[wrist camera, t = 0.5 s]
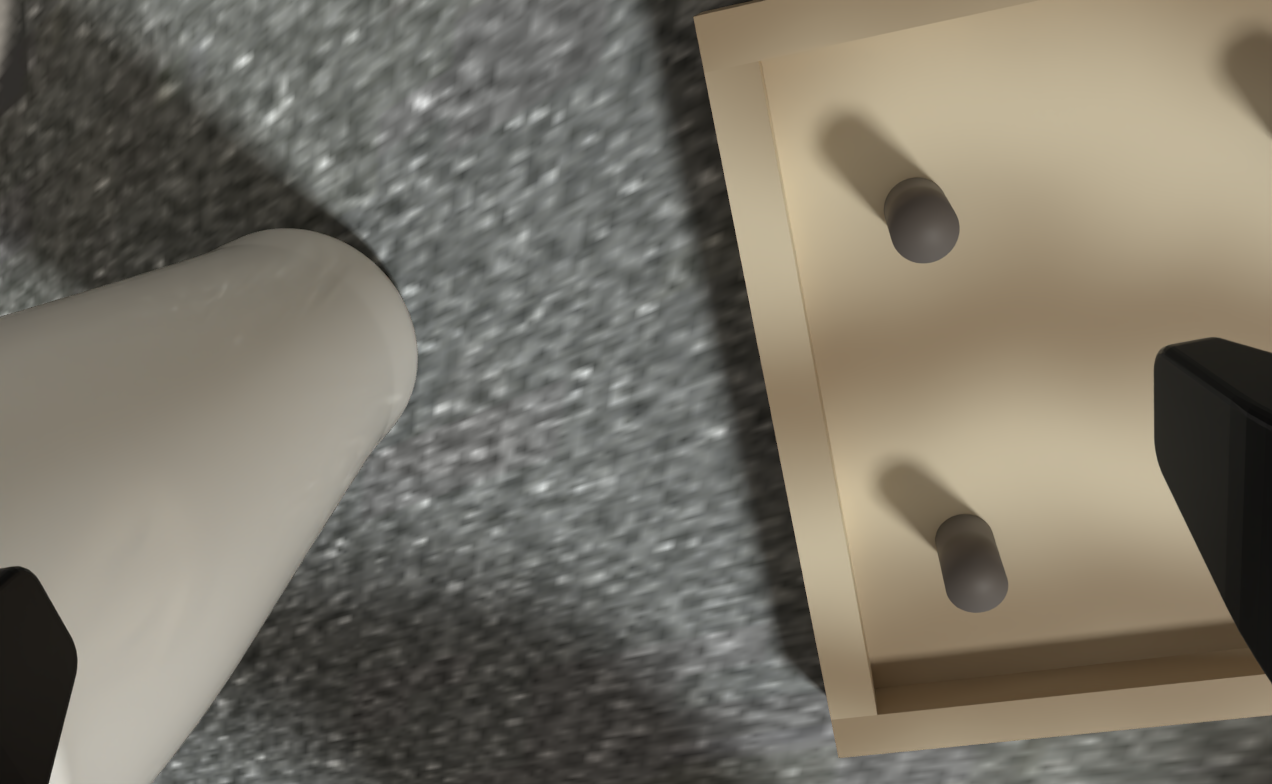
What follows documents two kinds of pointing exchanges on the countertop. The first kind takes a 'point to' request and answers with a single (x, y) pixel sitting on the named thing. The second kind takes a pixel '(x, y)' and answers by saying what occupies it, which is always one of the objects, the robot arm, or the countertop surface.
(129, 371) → the drinking glass
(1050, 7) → the pin tray
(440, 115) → the countertop surface
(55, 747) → the robot arm
